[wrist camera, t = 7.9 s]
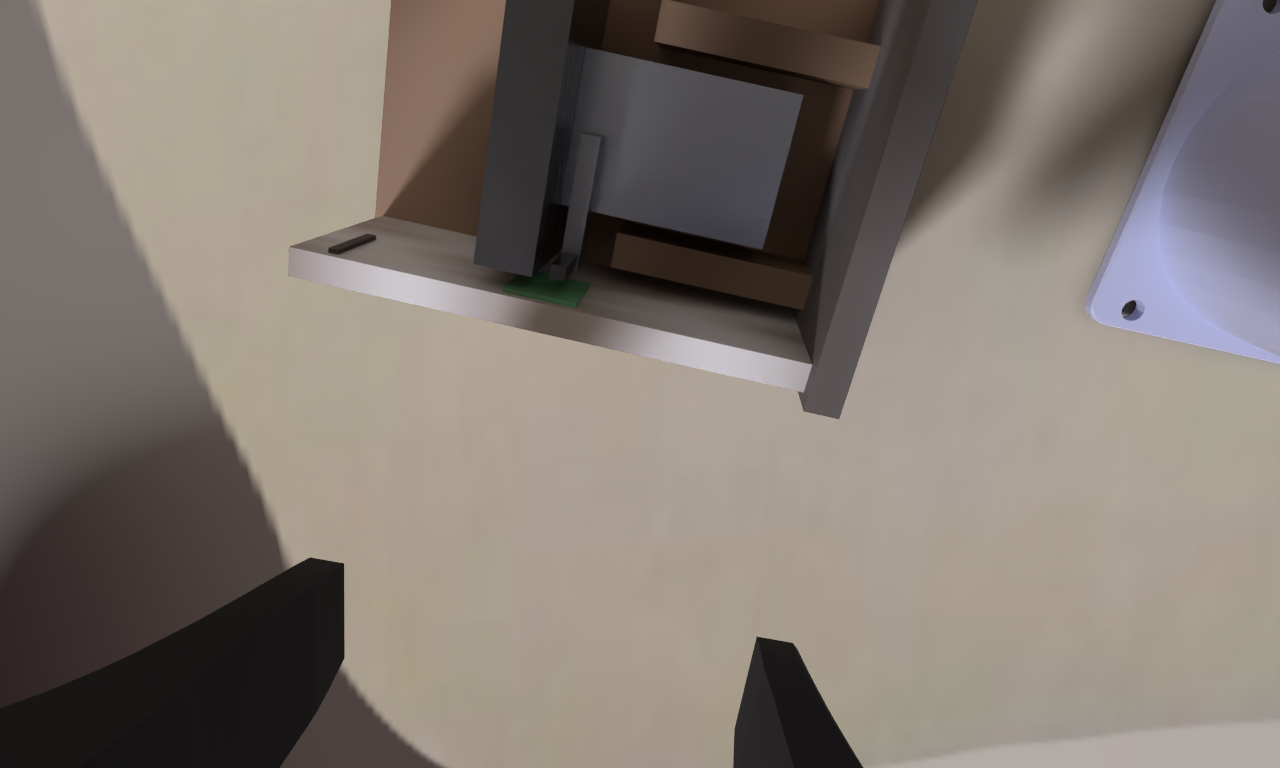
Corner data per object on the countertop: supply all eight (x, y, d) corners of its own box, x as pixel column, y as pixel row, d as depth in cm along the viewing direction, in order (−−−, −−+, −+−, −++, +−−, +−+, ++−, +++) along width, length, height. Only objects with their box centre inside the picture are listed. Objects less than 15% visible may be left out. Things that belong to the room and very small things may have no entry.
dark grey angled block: (809, 39, 17) (835, 20, 13) (745, 282, 19) (752, 326, 15) (558, -16, 17) (512, -51, 13) (521, 232, 19) (473, 263, 15)
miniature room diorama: (901, 5, 17) (991, -42, 12) (804, 331, 20) (839, 419, 15) (416, -100, 17) (275, -196, 12) (388, 238, 20) (263, 288, 15)
